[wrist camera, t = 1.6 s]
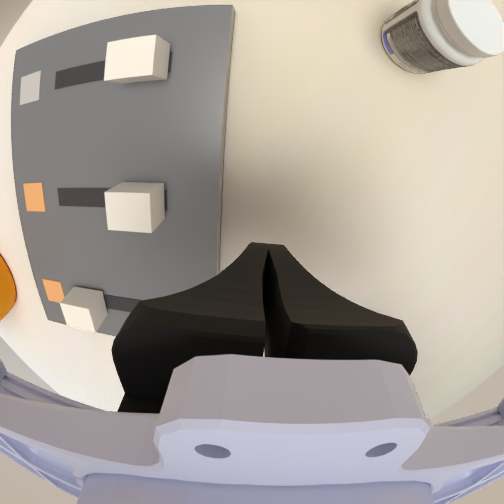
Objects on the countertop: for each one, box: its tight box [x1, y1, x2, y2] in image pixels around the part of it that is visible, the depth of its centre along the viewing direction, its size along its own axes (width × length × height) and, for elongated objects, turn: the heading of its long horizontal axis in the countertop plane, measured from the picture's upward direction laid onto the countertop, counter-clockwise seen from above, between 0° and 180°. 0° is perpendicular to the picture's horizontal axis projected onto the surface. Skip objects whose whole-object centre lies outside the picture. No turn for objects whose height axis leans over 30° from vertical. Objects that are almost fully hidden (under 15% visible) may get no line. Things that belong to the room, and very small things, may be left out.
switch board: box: [11, 5, 235, 336], centre depth 19 cm, size 26×18×2 cm
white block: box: [60, 287, 108, 333], centre depth 21 cm, size 2×3×2 cm
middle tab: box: [104, 182, 165, 233], centre depth 17 cm, size 2×3×2 cm
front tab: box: [104, 35, 170, 83], centre depth 13 cm, size 2×3×2 cm
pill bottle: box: [382, 0, 504, 74], centre depth 10 cm, size 5×5×8 cm
